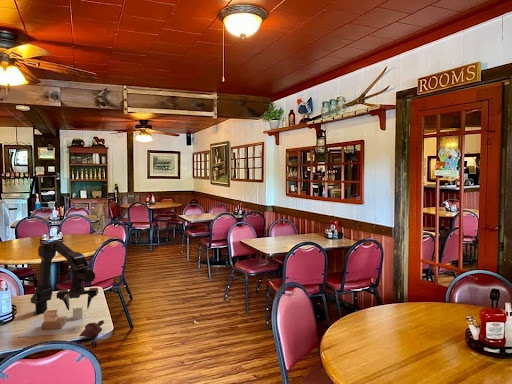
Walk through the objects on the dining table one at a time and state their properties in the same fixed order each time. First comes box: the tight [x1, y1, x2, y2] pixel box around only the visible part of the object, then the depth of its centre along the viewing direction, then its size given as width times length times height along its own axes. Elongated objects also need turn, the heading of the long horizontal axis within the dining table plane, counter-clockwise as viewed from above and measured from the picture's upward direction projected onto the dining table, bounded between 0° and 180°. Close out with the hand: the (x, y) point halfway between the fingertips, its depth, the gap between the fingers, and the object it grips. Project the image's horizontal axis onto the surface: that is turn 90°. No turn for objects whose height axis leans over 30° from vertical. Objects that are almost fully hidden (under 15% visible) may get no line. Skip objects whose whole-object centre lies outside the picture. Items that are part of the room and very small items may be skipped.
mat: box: [17, 314, 88, 339], centre depth 194 cm, size 22×26×1 cm
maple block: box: [43, 308, 59, 323], centre depth 192 cm, size 5×5×5 cm
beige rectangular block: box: [72, 304, 84, 320], centre depth 203 cm, size 4×4×6 cm
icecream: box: [79, 320, 105, 339], centre depth 182 cm, size 7×7×15 cm
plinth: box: [42, 315, 67, 330], centre depth 193 cm, size 9×9×3 cm
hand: (78, 309), depth 195 cm, fingers open, 9 cm apart
